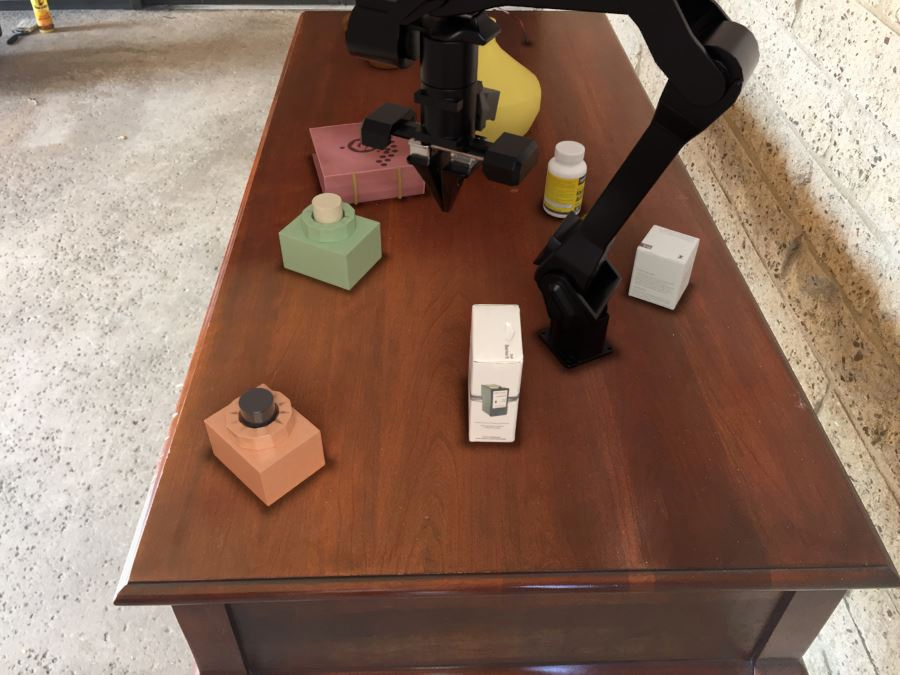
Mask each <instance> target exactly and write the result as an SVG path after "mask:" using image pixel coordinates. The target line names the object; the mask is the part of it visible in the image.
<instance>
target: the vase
mask: <svg viewBox="0 0 900 675" xmlns="http://www.w3.org/2000/svg"><path fill="white" fill-rule="evenodd" d="M489 17H490V18H491V19H492V20H493V21H495V23H496V24H497V20H496V18H494V17H492V16H489ZM496 40H497V39H496V37H495V38H494V39H492V40H491V41H490V42H488V43H487V44H486V45H484V46H480V45H479V49H478V74H477V80H479V81H482V84H483V87H486V88H490V89H494V90H498V91H500V97H499V102H498V107H497V112H496V117H495V120H494V121H491V120H486V127H485V128H484V129H483V130H482V131H481V132H480V131H476V132H475V134H476V135H480V136H484V137H487V141H489V142H492V143H494V142H495V141H496V140H497V139H498V138H499V137H500V136H501V135H502V133H503V132H507V133H511V134H515V135H519V136H523V137H525V135H526V134H527V133H528V131H530V129H531V127H532V125H533V123H534V122H535V120H536V118H537V116H538V114H539V113H540V110H541V102H542V88H541V85H540V81H539V79H538V78H537V75H535V74H534V73H533V72H532V71H531V70H530V69H528V68H527V67H525V66H524V65H523V64H521V63H520V62H518V61H517V60H516V59H514V57H512V56H511V55H510V54H508V53H507V51H505V50H504V49H502V48H501V46H500V44H498V42H497V41H496Z"/></svg>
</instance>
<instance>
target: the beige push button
mask: <svg viewBox="0 0 900 675" xmlns="http://www.w3.org/2000/svg"><path fill="white" fill-rule="evenodd" d="M311 204H312V206H313V214H314V219H315V221H316V222H319V223H322V224H332V223H335V222H338V221H340V220H342V218H343V210H342V200H341V198H340V196H338V195H336V194H333V193H323V192H322V193H320V194H318V195H315V196H314V197H313V199H312V200H311Z"/></svg>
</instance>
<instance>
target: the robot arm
mask: <svg viewBox="0 0 900 675" xmlns="http://www.w3.org/2000/svg"><path fill="white" fill-rule="evenodd" d="M496 7H500V8H504V7H513V8H514V7H516V8H527V9H528V8H529V9H540V10H541V9H542V10H557V11H570V12H583V13H596V14H611V15H624V16H628V17H629V18H630V20H631V21H632V22H633V23H634V24H635V26H636V27H637V28H638V30H639V33H640V34H641V36H642V38H643V41H644V42H645V45H646V46H647V48H648V51H649V53H650V55H651V57H652V58H653V59H652V60H653V61H654V63H655V64H656V66H657V67H658V68H659V70H660V71H661V72H662V73H663V74H664V76H665V77H666V78H667V80H666V83H665V85H664V87H663V89H662V91H661V94H660V96H659V99H658V101H657V105H656V107H655V110H654V113H653V116H652V119H651V121H650V123H649V125H648V127H647V128H646V129H645V131H644V132H643V134H642V135H641V136H640V138H639V139H638V140H637V141H636V144H635V145H634V146H633V148H632V149H631V151H630V152H629V154H628V155H627V157H626V158H625V160H623V162H622V164H621V165H620V166H619V168H618V170H617V171H616V172H615V174H614V175H613V177H612V178H611V179H610V180H609V182H608V183H607V185H606V186H605V188H604V190H603V191H602V192H601V194H600V195H599V197H598V198H597V199H596V201H595V203H594V204H593V205H592V206H591V208H590V209H589V211H588V212H587V213H585V214H584V215H583V216H581V217H580V216H579V215H578V214H577V215H576V214H575V213H574V212H573V211H572V210H571V211H570V212H569V213H568V215H567V216H566V217H565V218H563V220H562V221H561V222H560V224H559V225H558V226H557V228H556V229H555V230H554V232H553V233H552V234H551V236H550V237H549V239H548V240H547V243H546V244H545V246H544V247H543V248H542V250H541V251H540V252H539V254H538V255H537V256H536V258H535V259H534V260H533V261H532V264H533V265H535V266H537V267H536V269H535V271H534V274H533V280H534V282H535V283H536V286H537V288H538V289H539V291H540V292H541V295H542V299H543V302H544V306H545V310H546V313H547V317H548V319H550V322H549V326H550V327H548V328H545V329H542V330H540V331H539V332H538V338H539V339H540V341H542V342H543V343H544V345H545V346H546V347H547V348H548V349H549V350H550V352H551V353H552V354H553V355H554V356H555V357H556V358H557V360H558V361H559V362H560V363H561V364H562V366H563V367H564V368H565V369H573V368H576V367H579V366H581V365H584V364H587V363H589V362H592V361H595V360H598V359H601V358H603V357H607V356H610V355H611V354H613V353H614V347H613V346H612V345H611V344H610V343H609V341H607V339H606V337H607V331H608V328H609V322H610V318H611V315H610V314H609V312H608V309H609V304H608V303H609V301H610V300H611V298H612V296H613V295H614V293H615V291H616V290H617V289H618V286H619V284H620V283H621V281H622V280H623V276H622V275H621V274H620V272H619V271H618V270H617V269H616V267H615V266H614V265H613V263H612V261H611V260H610V259H609V257H608V256H609V254H610V252H611V250H612V247H613V244H614V243H615V240H616V237H617V234H618V233H619V232H620V231H621V229H622V228H623V227H624V225H625V224H626V223H627V221H628V220H629V219H630V218H631V216H632V215H633V213H634V212H635V211H636V209H637V208H638V207H639V206H640V204H641V203H642V201H643V200H644V199H645V198H646V196H647V195H648V194H649V193H650V191H651V190H652V188H653V187H654V186H655V185H656V184H657V182H658V180H659V179H660V178H661V177H662V175H663V174H664V173H665V171H667V169H668V167H669V166H670V165H671V163H672V162H673V161H674V159H675V158H676V156H678V154H679V153H680V152H681V150H682V149H683V148H684V147H685V146H686V145H687V144H688V143H689V142H691V141H692V140H693V139H695V138H696V137H697V136H699V135H701V133H704V131H706V130H707V129H708V128H709V127H710V126H711V125H713V123H715V122H716V121H717V120H718V119H719V118H720V117H721V116H722V115H724V114H725V113H726V112H727V111H728V110H729V109H730V108H731V107H732V106H733V105H734V104H735V103H736V102H737V100H738V98H739V97H740V96H741V93H742V92H743V90H744V88H745V87H746V86H747V83H748V82H749V80H750V78H751V76H752V75H753V74H754V72H755V70H756V68H757V66H758V64H759V61H760V57H761V54H760V48H759V42H758V40H757V38H756V36H755V34H754V33H753V32H752V31H751V30H750V29H749V28H748V27H747V26H746V25H744V24H741V23H739V22H737V21H733V20H732V19H731V18H730V16H729V15H728V14H727V13H726V11H725V10H724V9H723V8H722V7H721V5H720V4H719V2H717V1H716V0H355V5H354V6H353V8H352V9H351V12H350V13H351V14H350V17H349V20H348V25H347V30H346V31H345V34H344V40H345V41H344V42H345V46H346V49H347V51H348V53H349V54H350V55H351V56H352V57H353V58H357V59H361V60H364V61H367V62H368V61H373V62H377V63H381V64H385V65H389V66H393V67H397V68H396V69H401V70H405V69H408V68H409V67H410V66H412V64H413V63H414V61H415V62H416V61H418V60H419V88H418V89H417V90H415V91H414V92H413V103H414V104H418V105H420V115H419V116H420V117H419V118H420V122H418V119H417V118H418V116H417V113H418V112H416V111H415V109H414V108H412V107H408V106H405V105H402V104H401V105H400V104H396V103H393V102H389V101H385V102H383V103H382V104H381V105H380V106H378V107H377V108H376V109H375V110H373V111H372V112H371V113H370V114H368V115H367V116H365V117H364V118H363V119H362V120H361V122H360V123H361V125H360V142H361V144H362V145H364V146H368V147H371V148H375V149H379V150H382V151H383V150H384V149H385V148H386V147H388V146H389V145H390V144H391V135H392V136H396V137H399V138H403V139H407V140H408V144H409V145H410V155H409V156H408V157H407V158H406V160H407V163H408V164H410V165H413V166H414V167H415V169H416V170H417V172H418V173H419V175H420V176H421V177H422V179H423V180H424V182H425V186H427V188H428V190H429V192H430V193H431V195H432V197H433V199H434V200H435V202H436V204H437V206H438V207H439V209H440V211H441V212H444V213H446V214H448V213H449V212H451V211H452V209H453V207H454V204H455V202H456V200H457V197H458V195H459V193H460V190H461V188H462V186H463V184H464V182H465V180H466V179H469V178H470V177H471V176H472V175H473V173H474V172H475V171H476V170H478V168H479V167H480V166H481V173H482V174H483V175H484V177H485V178H486V179H487V180H488V181H491V182H493V183H498V184H500V185H505V186H508V187H516V186H517V187H518V186H520V184H521V183H522V182H523V181H524V180H525V178H526V177H528V175H529V174H530V173H531V172H532V171H533V169H534V168H535V167H536V166H537V165H538V163H539V153H540V148H539V145H538V144H537V142H536V140H535V139H534V138H530V137H527V136H519V135H515V134H511V133H507V132H503V133H502V135H501V136H500V137H499V138H498V139H497V140H496V141H495V142H494V143H492V142H489V141H487V137H484V136H480V135H476V134H475V132H476V131H480V132H481V131H482V130H483V129H484V128H485V127H486V120H491V121H494V120H495V117H496V112H497V107H498V102H499V97H500V91H498V90H494V89H490V88H486V87H483V84H482V81H479V80H477V74H478V49H479V45H480V46H484V45H486V44H487V43H488V42H490V41H491V40H492V39H494V38H495V39H496V37H498V36H499V35H500V34H501V32H502V29H501V27H500V26H499V25H498V24H497V22H496V23H495V21H493V20H492V19H491V18H492V17H491V16H489V15H488V12H487V11H488V10H491V9H495V8H496ZM476 12H477V13H476ZM472 13H476V14H475V15H473V16H470V15H467V14H472ZM490 17H491V18H490Z"/></svg>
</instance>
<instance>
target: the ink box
mask: <svg viewBox="0 0 900 675" xmlns="http://www.w3.org/2000/svg"><path fill="white" fill-rule="evenodd" d="M521 324H522V323H521V309H520V306H519V304H496V303H495V304H494V303H493V304H492V303H489V304H487V303H485V304H484V303H483V304H479V303H477V304H473V305H472V306H471V320H470V333H469V334H470V336H469V352H468V353H469V355H468V358H469V359H468V374H467V376H468V377H467V391H468V392H467V394H468V395H467V398H468V403H467V404H468V441H469V442H471V443H472V442H473V443H474V442H481V443H483V442H484V443H513V442H514V441H515V440H516V439H515V438H516V428H517V418H518V409H519V400H520V390H521V383H522V375H523V374H522V372H523V364H524V352H523V339H522V326H521Z"/></svg>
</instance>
